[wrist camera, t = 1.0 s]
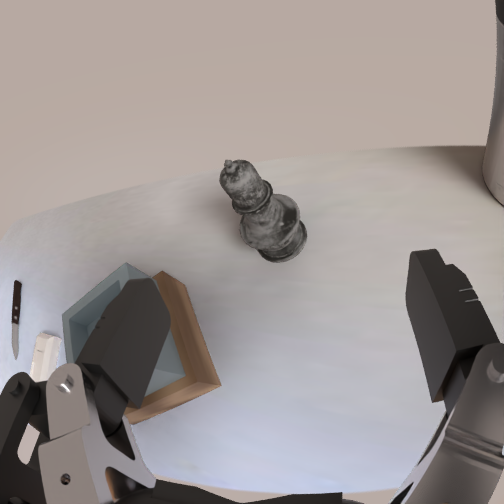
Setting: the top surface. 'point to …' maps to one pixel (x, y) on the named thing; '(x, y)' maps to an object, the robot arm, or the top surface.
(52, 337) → the soap bar
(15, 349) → the kitchen knife
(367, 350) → the top surface
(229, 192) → the salt shaker
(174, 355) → the blue-grey square tray
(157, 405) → the tower base
